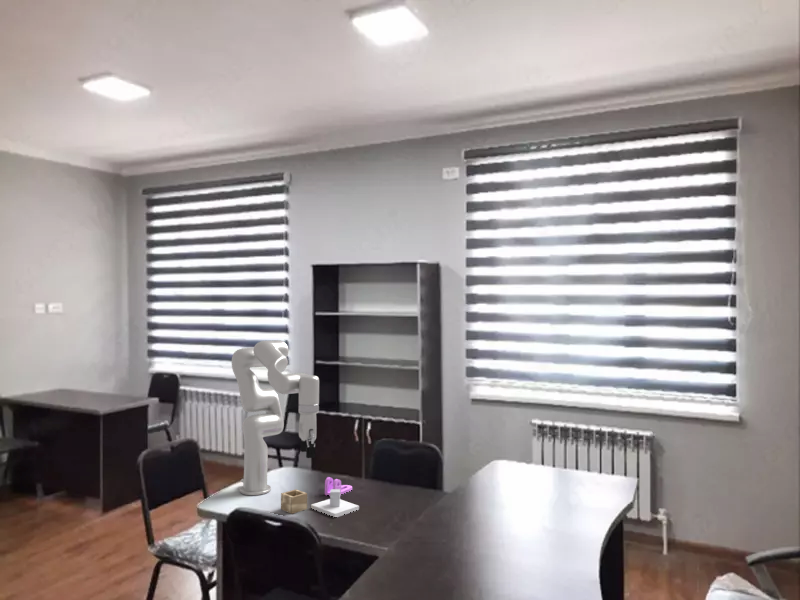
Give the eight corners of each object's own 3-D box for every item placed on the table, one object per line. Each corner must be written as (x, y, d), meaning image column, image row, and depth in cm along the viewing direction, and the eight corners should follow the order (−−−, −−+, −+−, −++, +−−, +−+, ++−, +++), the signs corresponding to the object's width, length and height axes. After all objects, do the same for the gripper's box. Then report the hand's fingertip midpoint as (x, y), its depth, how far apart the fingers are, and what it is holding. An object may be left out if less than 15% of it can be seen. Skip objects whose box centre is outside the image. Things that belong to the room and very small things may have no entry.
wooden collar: (280, 509, 215) (281, 493, 215) (295, 504, 220) (296, 489, 220) (292, 513, 210) (292, 497, 210) (307, 509, 215) (307, 493, 215)
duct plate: (310, 508, 216) (311, 490, 216) (334, 501, 225) (335, 483, 225) (335, 517, 207) (335, 498, 207) (359, 509, 216) (359, 491, 216)
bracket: (335, 498, 229) (335, 480, 230) (324, 495, 232) (325, 478, 233) (354, 489, 240) (355, 473, 240) (344, 487, 243) (344, 471, 243)
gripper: (294, 405, 219) (293, 449, 218) (303, 413, 203) (302, 461, 202) (313, 404, 221) (312, 448, 221) (323, 412, 205) (323, 459, 205)
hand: (307, 454), depth 212 cm, fingers open, 9 cm apart
